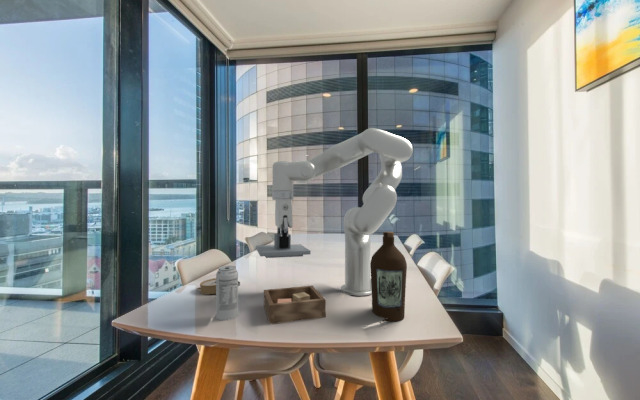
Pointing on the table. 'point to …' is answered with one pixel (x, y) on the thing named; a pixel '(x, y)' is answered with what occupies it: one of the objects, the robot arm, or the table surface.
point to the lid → (282, 249)
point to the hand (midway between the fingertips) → (282, 246)
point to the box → (293, 305)
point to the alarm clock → (209, 286)
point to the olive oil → (388, 280)
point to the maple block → (301, 296)
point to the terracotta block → (284, 300)
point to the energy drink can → (226, 293)
